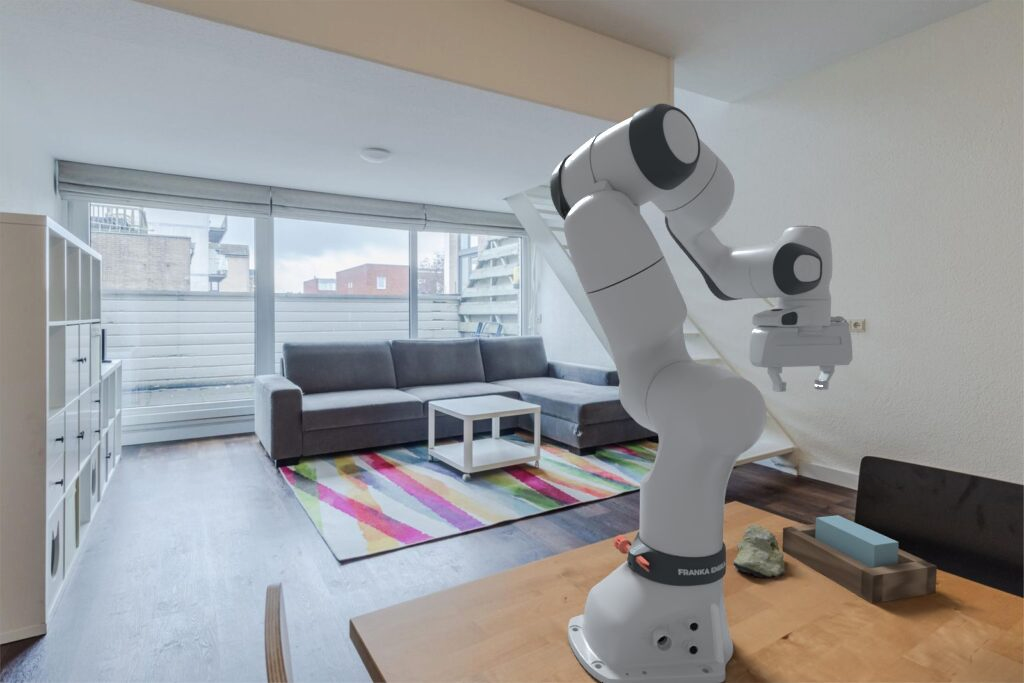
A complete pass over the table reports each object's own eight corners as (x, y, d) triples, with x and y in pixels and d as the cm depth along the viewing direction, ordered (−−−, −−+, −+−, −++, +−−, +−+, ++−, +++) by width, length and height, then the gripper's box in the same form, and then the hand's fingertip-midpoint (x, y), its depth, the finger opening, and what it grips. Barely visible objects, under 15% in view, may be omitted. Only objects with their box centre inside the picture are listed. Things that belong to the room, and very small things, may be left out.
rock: (743, 586, 91) (801, 578, 91) (737, 550, 91) (796, 542, 91) (720, 558, 102) (772, 551, 101) (715, 526, 102) (767, 518, 101)
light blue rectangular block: (815, 538, 99) (816, 517, 99) (837, 535, 100) (837, 515, 100) (873, 568, 87) (874, 545, 87) (897, 565, 89) (898, 542, 88)
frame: (871, 603, 83) (873, 575, 83) (782, 550, 102) (783, 527, 102) (935, 592, 87) (936, 565, 86) (837, 543, 105) (838, 521, 105)
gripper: (834, 316, 104) (832, 386, 105) (744, 316, 99) (742, 390, 100) (863, 316, 98) (860, 390, 99) (769, 316, 93) (766, 395, 93)
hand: (800, 390), depth 99 cm, fingers open, 8 cm apart
